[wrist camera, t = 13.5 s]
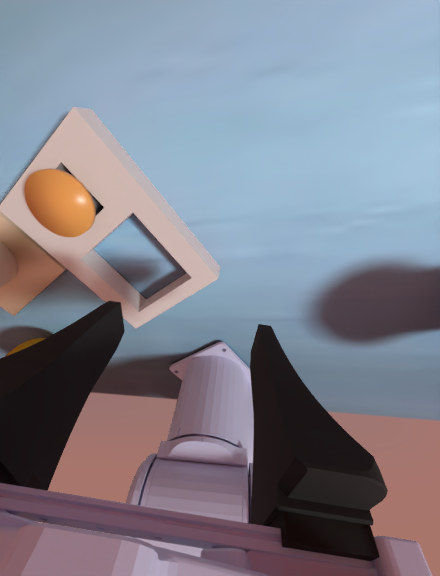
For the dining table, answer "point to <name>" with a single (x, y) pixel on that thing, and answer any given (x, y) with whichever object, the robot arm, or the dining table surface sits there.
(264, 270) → the dining table surface
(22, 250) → the birch board
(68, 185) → the orange dome button
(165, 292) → the beige flat frame
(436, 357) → the dining table surface
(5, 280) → the cylinder
